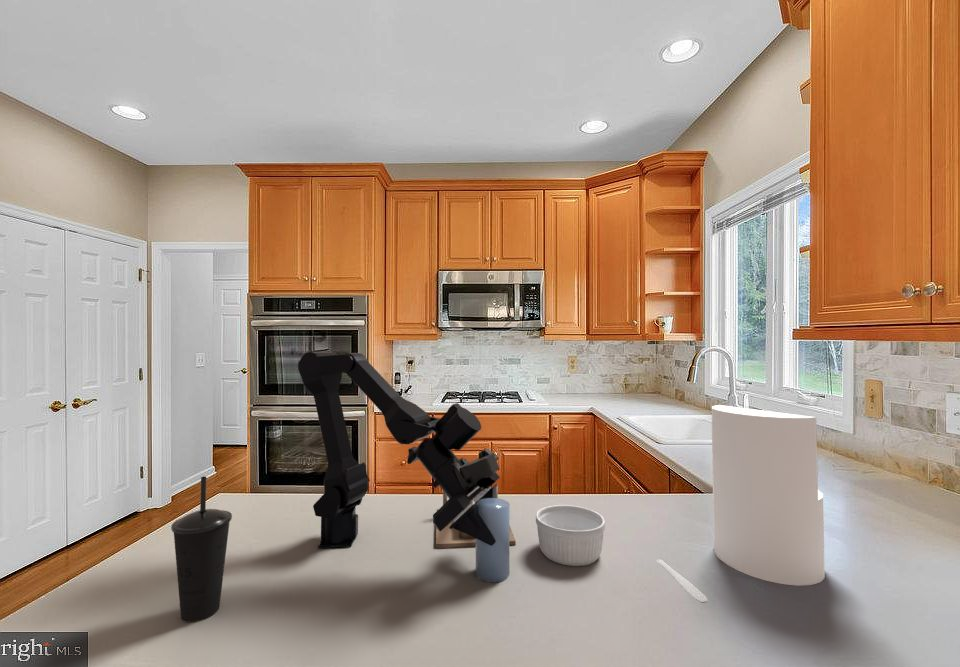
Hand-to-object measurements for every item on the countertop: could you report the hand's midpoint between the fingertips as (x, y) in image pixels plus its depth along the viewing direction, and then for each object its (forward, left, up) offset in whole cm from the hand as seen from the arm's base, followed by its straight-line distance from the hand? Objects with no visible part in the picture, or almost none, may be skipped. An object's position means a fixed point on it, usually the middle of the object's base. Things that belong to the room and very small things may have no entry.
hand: (499, 536), depth 74 cm
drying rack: (-3, +20, -7) cm, 21 cm away
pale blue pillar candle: (-1, +1, -7) cm, 7 cm away
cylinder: (+51, +1, -7) cm, 51 cm away
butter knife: (+30, +3, -7) cm, 31 cm away
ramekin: (+15, +7, -7) cm, 18 cm away
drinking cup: (-46, -6, -7) cm, 47 cm away
